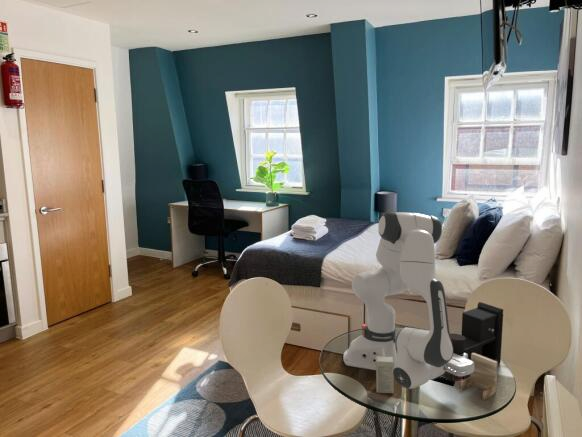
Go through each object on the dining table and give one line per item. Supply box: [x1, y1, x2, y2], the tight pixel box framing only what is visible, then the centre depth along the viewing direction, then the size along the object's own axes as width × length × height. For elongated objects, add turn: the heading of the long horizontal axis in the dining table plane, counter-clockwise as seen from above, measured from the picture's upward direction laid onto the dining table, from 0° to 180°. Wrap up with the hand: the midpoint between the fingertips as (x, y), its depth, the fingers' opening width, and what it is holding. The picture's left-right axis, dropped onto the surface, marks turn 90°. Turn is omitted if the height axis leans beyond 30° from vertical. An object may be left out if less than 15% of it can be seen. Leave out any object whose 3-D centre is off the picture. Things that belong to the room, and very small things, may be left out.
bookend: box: [460, 301, 504, 381], centre depth 175 cm, size 23×11×24 cm, turn 122°
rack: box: [460, 353, 499, 401], centre depth 159 cm, size 8×9×12 cm
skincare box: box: [375, 356, 395, 394], centre depth 160 cm, size 6×4×12 cm
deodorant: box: [443, 332, 466, 382], centre depth 155 cm, size 6×6×15 cm
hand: (456, 351), depth 155 cm, fingers closed on deodorant, 6 cm apart
